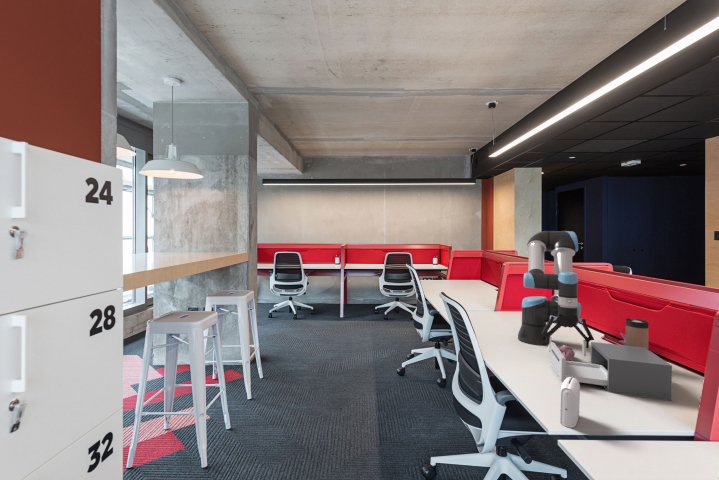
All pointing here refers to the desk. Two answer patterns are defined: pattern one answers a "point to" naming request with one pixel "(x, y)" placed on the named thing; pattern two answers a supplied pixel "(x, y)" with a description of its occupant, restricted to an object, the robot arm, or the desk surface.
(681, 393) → the desk surface
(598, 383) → the light grey drawer
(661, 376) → the box
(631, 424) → the desk surface
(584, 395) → the desk surface
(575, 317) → the robot arm
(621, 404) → the desk surface
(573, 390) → the photo printer
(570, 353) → the video game controller
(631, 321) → the travel mug
